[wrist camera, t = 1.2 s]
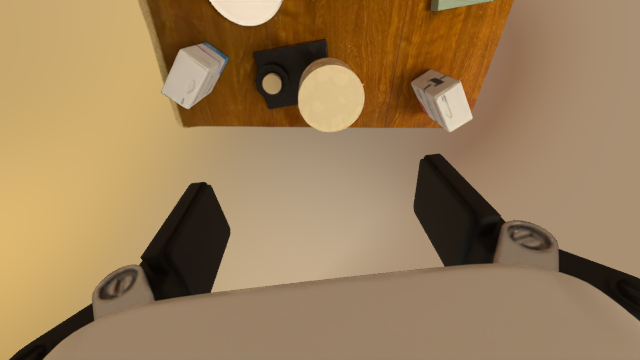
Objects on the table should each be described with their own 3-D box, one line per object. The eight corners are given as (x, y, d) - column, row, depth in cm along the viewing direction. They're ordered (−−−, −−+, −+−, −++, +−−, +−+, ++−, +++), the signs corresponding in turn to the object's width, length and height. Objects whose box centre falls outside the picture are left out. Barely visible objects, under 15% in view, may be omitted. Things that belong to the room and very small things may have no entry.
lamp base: (266, 107, 54) (264, 112, 51) (250, 52, 48) (247, 54, 45) (332, 96, 53) (333, 101, 50) (325, 39, 47) (326, 40, 44)
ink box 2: (444, 100, 55) (474, 119, 45) (423, 113, 57) (449, 134, 47) (431, 67, 51) (461, 80, 41) (409, 82, 52) (433, 97, 43)
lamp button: (266, 93, 49) (265, 95, 48) (261, 74, 47) (260, 76, 46) (283, 90, 49) (283, 92, 48) (279, 71, 47) (278, 72, 46)
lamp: (304, 101, 50) (304, 136, 36) (295, 52, 45) (291, 71, 31) (347, 93, 50) (365, 126, 35) (343, 44, 45) (362, 59, 30)
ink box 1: (205, 39, 46) (178, 47, 36) (229, 57, 48) (210, 69, 38) (187, 77, 50) (158, 93, 40) (210, 93, 51) (189, 111, 42)
